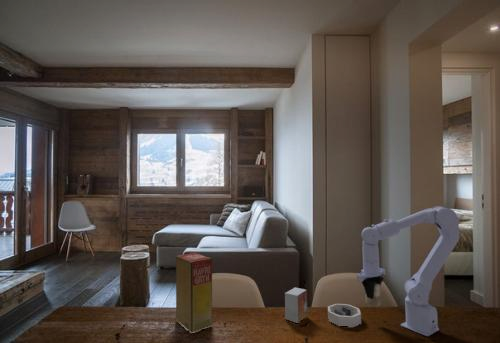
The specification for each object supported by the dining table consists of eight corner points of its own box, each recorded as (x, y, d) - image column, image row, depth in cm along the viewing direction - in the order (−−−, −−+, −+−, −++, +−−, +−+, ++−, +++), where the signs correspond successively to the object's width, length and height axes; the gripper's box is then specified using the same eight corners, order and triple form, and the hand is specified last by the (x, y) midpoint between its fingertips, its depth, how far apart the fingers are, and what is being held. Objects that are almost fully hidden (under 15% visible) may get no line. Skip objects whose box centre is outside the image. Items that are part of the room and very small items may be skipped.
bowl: (367, 321, 112) (366, 311, 112) (346, 330, 106) (346, 319, 106) (342, 310, 122) (341, 301, 122) (321, 318, 115) (321, 308, 115)
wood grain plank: (380, 305, 110) (379, 284, 110) (377, 306, 109) (376, 285, 109) (368, 301, 114) (367, 280, 114) (365, 302, 113) (364, 282, 113)
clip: (353, 317, 114) (353, 309, 114) (343, 321, 110) (343, 313, 111) (344, 313, 117) (344, 306, 117) (334, 317, 114) (334, 309, 114)
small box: (298, 325, 110) (297, 295, 111) (285, 321, 114) (284, 292, 114) (308, 317, 117) (307, 289, 117) (295, 313, 120) (294, 286, 120)
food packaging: (214, 326, 110) (213, 257, 111) (190, 335, 104) (190, 262, 105) (196, 314, 120) (195, 252, 121) (174, 322, 115) (174, 255, 116)
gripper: (373, 255, 119) (374, 289, 119) (349, 261, 112) (350, 298, 111) (389, 258, 114) (391, 295, 113) (365, 265, 106) (367, 304, 105)
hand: (372, 297), depth 112 cm, fingers closed on wood grain plank, 2 cm apart
